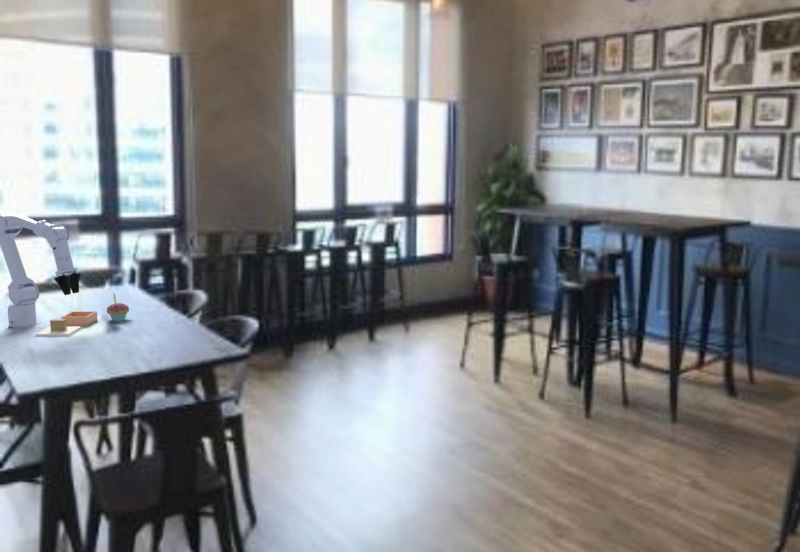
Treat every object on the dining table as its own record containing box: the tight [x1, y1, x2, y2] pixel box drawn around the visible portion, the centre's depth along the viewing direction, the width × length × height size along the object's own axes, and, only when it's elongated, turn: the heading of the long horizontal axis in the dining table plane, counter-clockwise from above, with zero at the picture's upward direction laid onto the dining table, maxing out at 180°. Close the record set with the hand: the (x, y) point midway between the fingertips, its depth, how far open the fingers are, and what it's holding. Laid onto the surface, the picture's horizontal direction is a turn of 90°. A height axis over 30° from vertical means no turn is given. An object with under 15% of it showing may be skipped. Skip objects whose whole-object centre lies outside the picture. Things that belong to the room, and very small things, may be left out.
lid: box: [35, 318, 82, 336], centre depth 283 cm, size 12×12×5 cm
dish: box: [60, 310, 98, 327], centre depth 298 cm, size 10×10×4 cm
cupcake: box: [106, 293, 130, 322], centre depth 303 cm, size 9×8×12 cm
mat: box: [31, 327, 85, 338], centre depth 283 cm, size 14×14×1 cm
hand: (72, 293), depth 283 cm, fingers open, 7 cm apart
